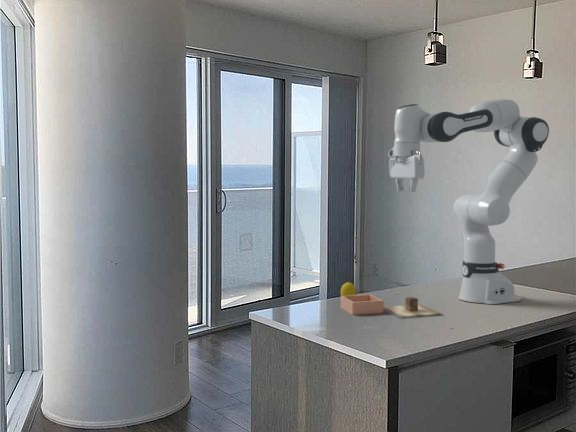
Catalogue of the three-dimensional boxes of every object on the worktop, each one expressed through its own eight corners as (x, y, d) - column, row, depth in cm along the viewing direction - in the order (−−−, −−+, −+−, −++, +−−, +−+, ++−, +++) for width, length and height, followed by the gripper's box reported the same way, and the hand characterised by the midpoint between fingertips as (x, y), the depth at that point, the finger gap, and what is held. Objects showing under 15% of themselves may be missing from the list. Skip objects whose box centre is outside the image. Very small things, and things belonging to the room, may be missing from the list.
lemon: (355, 305, 223) (355, 283, 222) (339, 304, 224) (339, 282, 223) (356, 302, 228) (356, 280, 228) (341, 301, 229) (341, 280, 229)
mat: (421, 308, 219) (421, 305, 219) (445, 318, 203) (445, 315, 203) (379, 310, 214) (379, 308, 214) (400, 322, 199) (400, 318, 199)
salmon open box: (370, 308, 218) (370, 294, 218) (383, 315, 208) (383, 300, 207) (340, 310, 215) (340, 296, 215) (352, 317, 205) (352, 302, 204)
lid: (420, 306, 217) (420, 292, 217) (441, 315, 204) (441, 301, 204) (383, 308, 214) (383, 295, 213) (401, 317, 200) (401, 303, 200)
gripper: (429, 150, 207) (428, 192, 208) (402, 152, 227) (401, 190, 228) (412, 150, 206) (411, 192, 207) (386, 152, 225) (385, 190, 226)
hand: (406, 191), depth 217 cm, fingers open, 8 cm apart
